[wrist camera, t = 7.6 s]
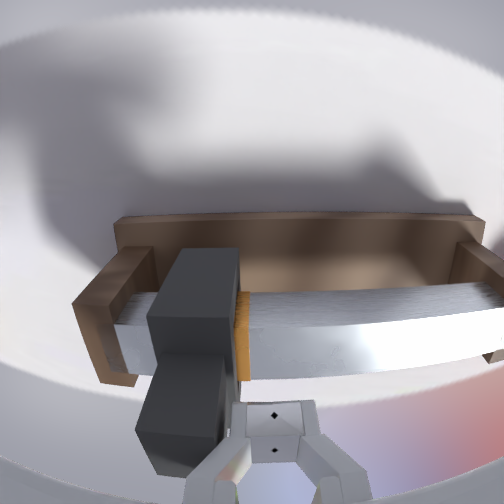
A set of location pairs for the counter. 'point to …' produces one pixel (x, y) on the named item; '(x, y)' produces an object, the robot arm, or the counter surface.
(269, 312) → the grey metal bar
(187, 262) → the grey clamp
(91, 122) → the counter surface
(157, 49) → the counter surface
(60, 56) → the counter surface
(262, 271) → the base
